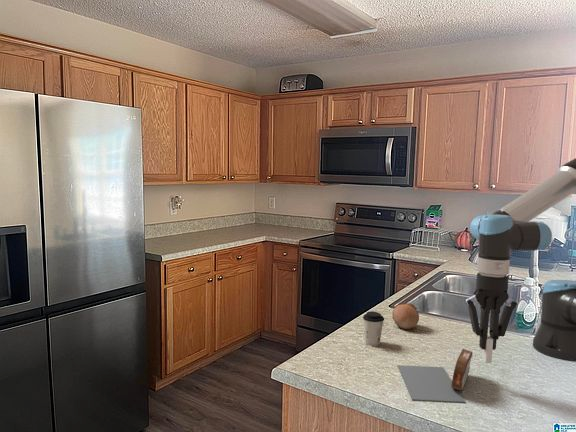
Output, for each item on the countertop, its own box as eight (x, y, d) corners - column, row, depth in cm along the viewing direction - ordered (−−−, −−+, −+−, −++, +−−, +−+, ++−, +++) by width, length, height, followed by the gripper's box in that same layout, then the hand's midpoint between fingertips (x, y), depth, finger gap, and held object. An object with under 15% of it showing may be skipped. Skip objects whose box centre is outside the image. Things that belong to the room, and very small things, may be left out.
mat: (442, 368, 125) (442, 367, 125) (465, 402, 106) (465, 401, 106) (397, 366, 126) (397, 365, 126) (412, 400, 107) (412, 399, 107)
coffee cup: (386, 346, 140) (387, 317, 139) (366, 348, 139) (367, 318, 137) (378, 338, 147) (379, 310, 145) (359, 339, 145) (360, 311, 144)
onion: (410, 333, 160) (420, 308, 162) (415, 335, 151) (426, 309, 152) (386, 322, 162) (396, 297, 163) (390, 323, 153) (400, 297, 154)
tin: (459, 371, 123) (462, 343, 122) (471, 375, 121) (474, 346, 120) (449, 393, 110) (452, 361, 109) (462, 397, 108) (466, 365, 107)
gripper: (472, 276, 109) (466, 365, 111) (525, 278, 108) (518, 368, 110) (462, 269, 116) (456, 353, 119) (511, 271, 115) (505, 355, 118)
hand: (486, 360), depth 114 cm, fingers closed
